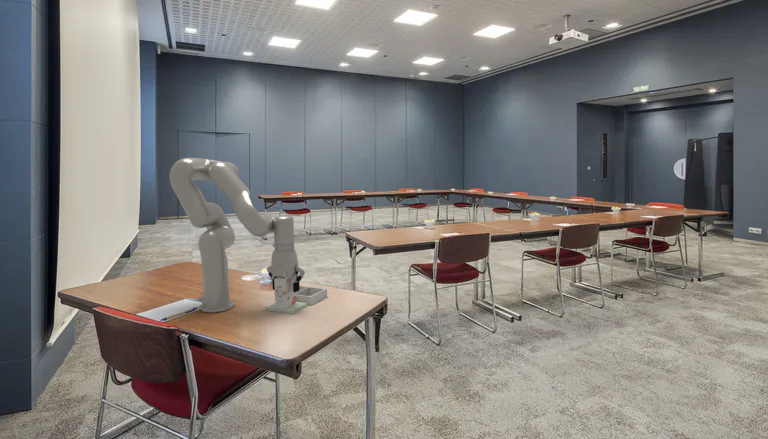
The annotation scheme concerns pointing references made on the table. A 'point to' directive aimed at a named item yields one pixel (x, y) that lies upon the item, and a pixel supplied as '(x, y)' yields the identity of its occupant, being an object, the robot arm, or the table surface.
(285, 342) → the table surface
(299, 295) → the bin
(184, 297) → the table surface
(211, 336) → the table surface
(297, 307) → the board
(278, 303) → the ink cartridge box
